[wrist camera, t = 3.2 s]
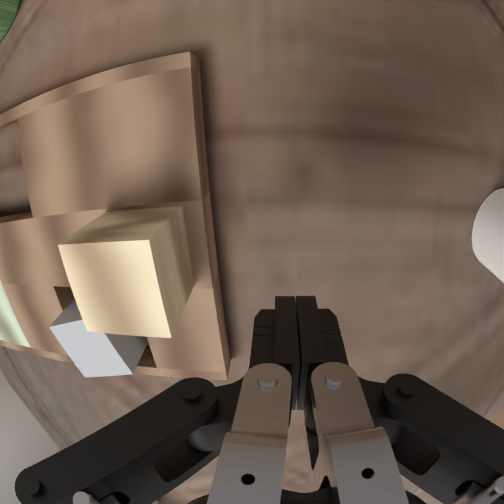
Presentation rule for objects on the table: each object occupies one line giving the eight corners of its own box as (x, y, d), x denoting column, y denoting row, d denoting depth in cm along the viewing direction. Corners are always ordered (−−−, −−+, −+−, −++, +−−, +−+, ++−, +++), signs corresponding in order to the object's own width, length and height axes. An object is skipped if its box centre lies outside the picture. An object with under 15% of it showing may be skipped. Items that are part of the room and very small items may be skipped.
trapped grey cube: (124, 278, 23) (94, 316, 18) (153, 330, 25) (132, 373, 20) (80, 291, 24) (48, 326, 19) (109, 338, 26) (85, 377, 21)
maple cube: (182, 205, 18) (149, 239, 13) (194, 285, 20) (171, 338, 15) (105, 212, 18) (57, 245, 13) (122, 285, 21) (87, 331, 16)
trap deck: (199, 59, 16) (177, 41, 12) (230, 360, 26) (223, 402, 22) (-51, 151, 19) (-82, 162, 14) (2, 332, 29) (-18, 354, 24)
